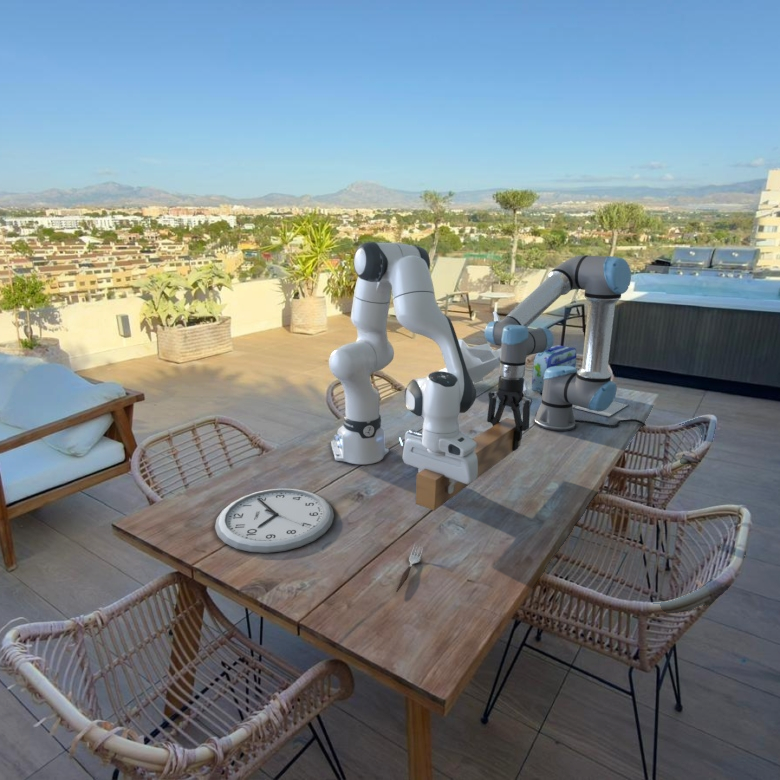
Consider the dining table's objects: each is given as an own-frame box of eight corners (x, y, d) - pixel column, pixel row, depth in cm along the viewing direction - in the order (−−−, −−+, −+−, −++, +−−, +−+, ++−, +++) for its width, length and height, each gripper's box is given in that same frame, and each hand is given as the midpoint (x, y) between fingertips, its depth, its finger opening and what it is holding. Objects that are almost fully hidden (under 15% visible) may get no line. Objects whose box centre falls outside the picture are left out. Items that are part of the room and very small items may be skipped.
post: (504, 441, 172) (506, 417, 169) (520, 445, 168) (522, 421, 166) (415, 503, 131) (416, 473, 129) (434, 510, 128) (436, 480, 126)
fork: (390, 592, 109) (390, 584, 108) (413, 550, 123) (413, 543, 123) (402, 595, 108) (402, 587, 107) (424, 552, 122) (424, 545, 122)
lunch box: (548, 398, 236) (553, 353, 229) (527, 393, 243) (531, 349, 237) (575, 387, 253) (581, 344, 247) (555, 382, 260) (560, 341, 254)
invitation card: (608, 416, 214) (573, 407, 224) (608, 416, 214) (573, 408, 224) (628, 404, 229) (594, 396, 238) (628, 405, 229) (594, 397, 238)
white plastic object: (461, 429, 252) (437, 405, 227) (444, 352, 274) (420, 323, 250) (535, 404, 240) (518, 377, 215) (510, 326, 262) (492, 293, 237)
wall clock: (332, 544, 122) (200, 548, 120) (332, 550, 123) (201, 555, 120) (334, 484, 151) (228, 486, 148) (334, 489, 151) (228, 491, 149)
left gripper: (398, 431, 132) (397, 480, 136) (470, 452, 121) (466, 505, 125) (412, 424, 137) (410, 472, 141) (482, 444, 126) (478, 495, 130)
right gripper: (478, 373, 161) (473, 443, 168) (536, 385, 151) (528, 458, 158) (489, 368, 167) (484, 436, 174) (546, 379, 156) (538, 450, 163)
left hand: (437, 488), depth 133 cm, fingers closed on post, 5 cm apart
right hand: (505, 446), depth 166 cm, fingers closed on post, 6 cm apart
